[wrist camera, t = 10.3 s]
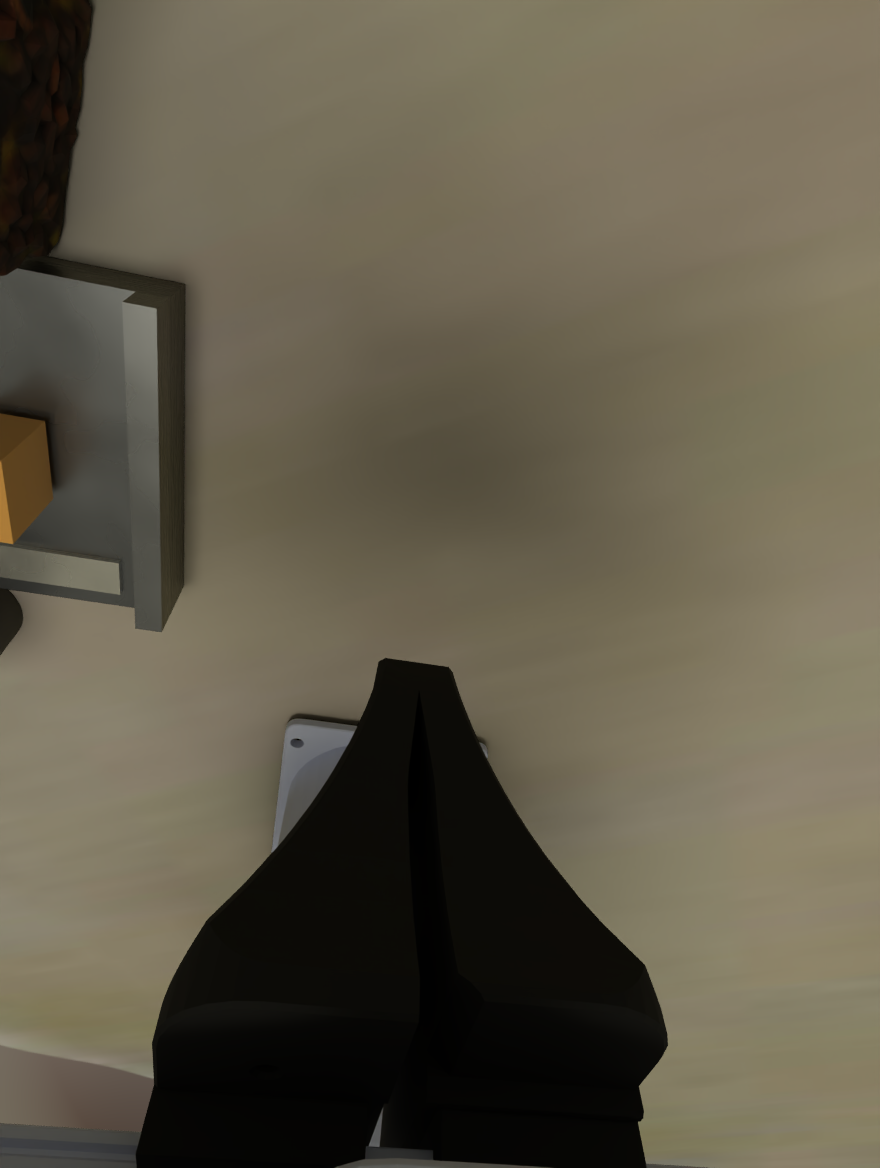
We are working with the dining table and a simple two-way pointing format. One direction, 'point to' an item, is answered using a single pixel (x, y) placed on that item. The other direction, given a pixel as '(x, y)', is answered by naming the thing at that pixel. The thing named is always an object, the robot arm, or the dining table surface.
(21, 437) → the tan rectangular prism
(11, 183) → the candle
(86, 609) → the dining table surface
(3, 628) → the post
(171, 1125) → the robot arm
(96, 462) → the grey tray
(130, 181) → the dining table surface
